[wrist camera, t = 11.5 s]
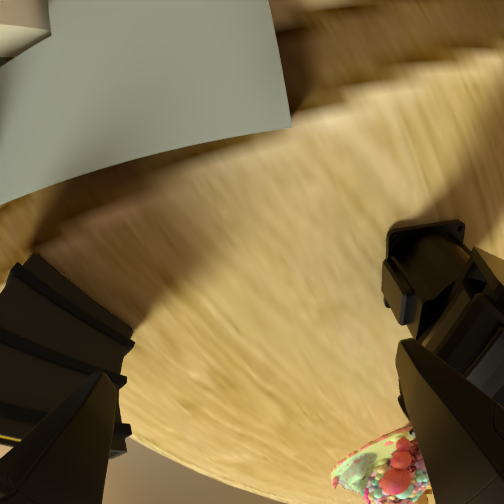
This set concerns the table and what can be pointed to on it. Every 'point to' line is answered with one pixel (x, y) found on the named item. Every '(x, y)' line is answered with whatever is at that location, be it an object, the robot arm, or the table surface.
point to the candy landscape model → (386, 471)
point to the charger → (22, 25)
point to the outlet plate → (135, 85)
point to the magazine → (53, 349)
